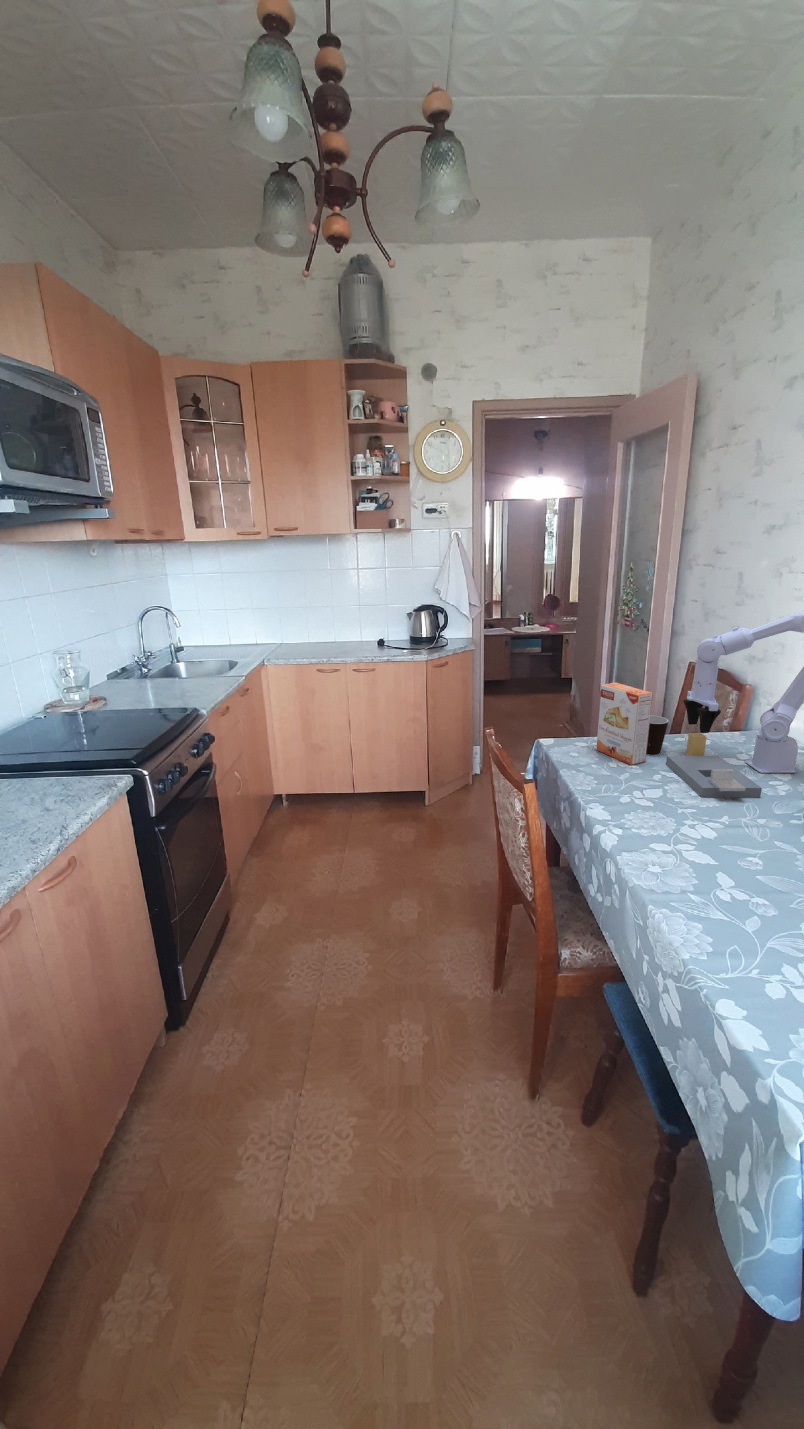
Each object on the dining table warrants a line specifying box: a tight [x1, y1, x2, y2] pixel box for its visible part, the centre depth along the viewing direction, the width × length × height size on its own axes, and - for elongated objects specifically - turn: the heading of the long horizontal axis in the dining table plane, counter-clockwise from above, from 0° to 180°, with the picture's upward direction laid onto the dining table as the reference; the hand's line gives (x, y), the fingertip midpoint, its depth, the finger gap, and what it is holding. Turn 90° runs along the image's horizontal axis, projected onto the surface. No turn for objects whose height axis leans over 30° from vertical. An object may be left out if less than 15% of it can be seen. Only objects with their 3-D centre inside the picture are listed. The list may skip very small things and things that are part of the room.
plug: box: [685, 732, 707, 756], centre depth 164 cm, size 4×4×7 cm
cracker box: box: [595, 681, 654, 766], centre depth 164 cm, size 14×6×21 cm, turn 25°
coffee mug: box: [646, 714, 669, 756], centre depth 170 cm, size 12×9×10 cm
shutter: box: [708, 769, 746, 791], centre depth 139 cm, size 6×6×3 cm
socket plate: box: [665, 755, 763, 798], centre depth 149 cm, size 14×22×2 cm, turn 177°
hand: (698, 728), depth 162 cm, fingers open, 7 cm apart
